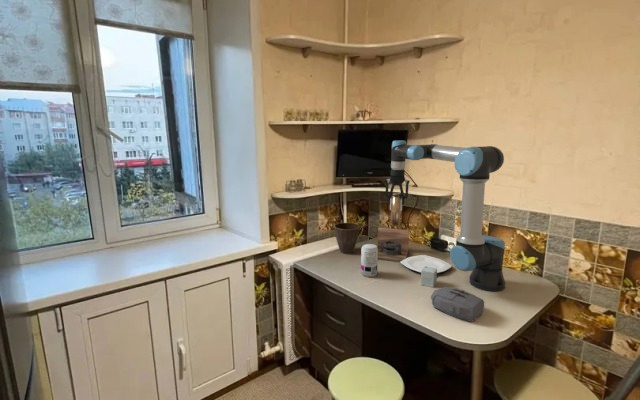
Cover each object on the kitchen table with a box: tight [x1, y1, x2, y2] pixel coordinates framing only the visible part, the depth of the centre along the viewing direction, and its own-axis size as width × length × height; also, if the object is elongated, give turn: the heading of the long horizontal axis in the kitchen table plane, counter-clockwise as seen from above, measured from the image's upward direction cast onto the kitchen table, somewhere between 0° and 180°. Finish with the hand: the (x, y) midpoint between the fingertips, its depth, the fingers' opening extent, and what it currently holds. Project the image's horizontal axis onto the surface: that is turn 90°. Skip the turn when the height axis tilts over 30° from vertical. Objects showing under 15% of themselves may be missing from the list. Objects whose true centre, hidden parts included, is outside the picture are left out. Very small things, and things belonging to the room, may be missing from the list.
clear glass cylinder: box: [390, 192, 402, 226], centre depth 194 cm, size 5×5×18 cm
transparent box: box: [377, 227, 410, 263], centre depth 198 cm, size 18×18×14 cm
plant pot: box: [333, 222, 360, 254], centre depth 204 cm, size 15×15×16 cm
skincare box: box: [420, 266, 438, 288], centre depth 162 cm, size 6×6×7 cm
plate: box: [399, 254, 453, 274], centre depth 182 cm, size 23×23×2 cm
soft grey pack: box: [430, 286, 485, 322], centre depth 139 cm, size 15×8×20 cm
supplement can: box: [360, 243, 379, 278], centre depth 173 cm, size 8×8×15 cm
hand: (395, 209), depth 194 cm, fingers closed on clear glass cylinder, 5 cm apart
